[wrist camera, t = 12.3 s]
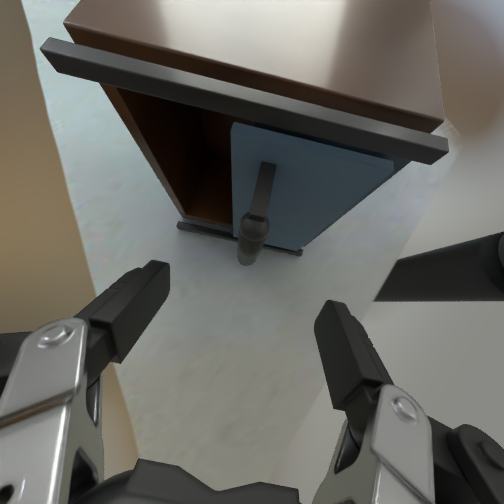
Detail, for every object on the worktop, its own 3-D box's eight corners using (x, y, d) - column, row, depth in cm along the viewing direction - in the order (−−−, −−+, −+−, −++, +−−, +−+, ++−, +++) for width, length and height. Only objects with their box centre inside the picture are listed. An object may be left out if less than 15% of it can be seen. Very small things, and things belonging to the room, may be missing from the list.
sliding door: (297, 246, 21) (394, 160, 8) (292, 284, 20) (395, 252, 7) (234, 232, 21) (233, 120, 8) (224, 269, 19) (205, 208, 7)
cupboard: (311, 177, 25) (429, -16, 10) (300, 256, 22) (449, 152, 7) (204, 151, 25) (155, -93, 9) (177, 228, 22) (38, 48, 6)
